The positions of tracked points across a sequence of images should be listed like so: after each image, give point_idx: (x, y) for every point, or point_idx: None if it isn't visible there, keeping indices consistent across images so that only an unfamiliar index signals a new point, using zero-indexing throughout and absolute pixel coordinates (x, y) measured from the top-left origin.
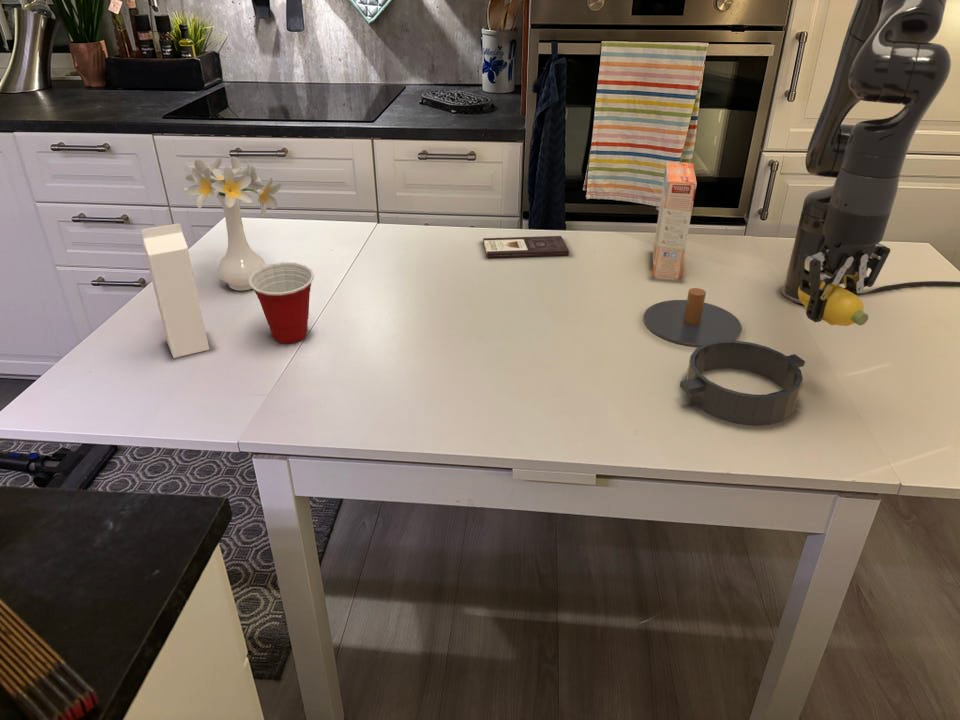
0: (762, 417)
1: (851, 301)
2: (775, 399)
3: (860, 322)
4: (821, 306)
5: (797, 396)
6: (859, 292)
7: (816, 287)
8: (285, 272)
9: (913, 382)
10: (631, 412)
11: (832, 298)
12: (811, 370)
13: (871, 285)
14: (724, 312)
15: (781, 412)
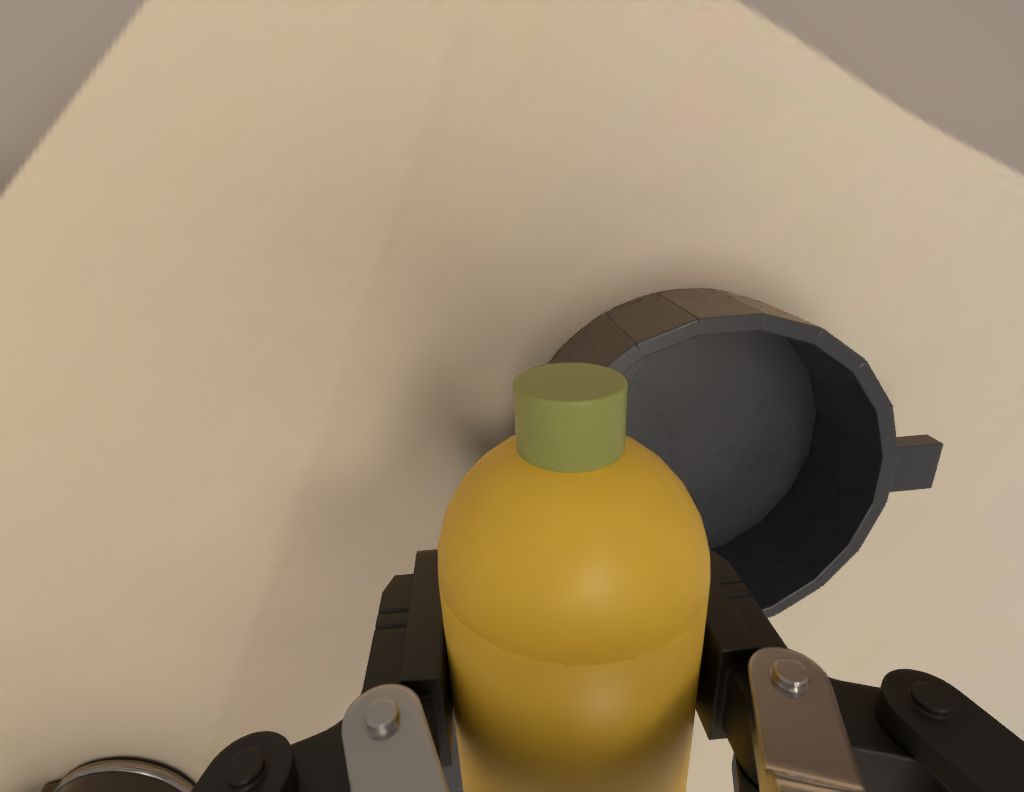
0: (747, 300)
1: (642, 563)
2: (755, 310)
3: (588, 369)
4: (731, 608)
5: (589, 349)
6: (382, 688)
7: (1009, 774)
8: None
9: (61, 359)
10: (977, 453)
11: (697, 651)
12: (369, 498)
13: (240, 748)
14: (444, 769)
15: (685, 298)
